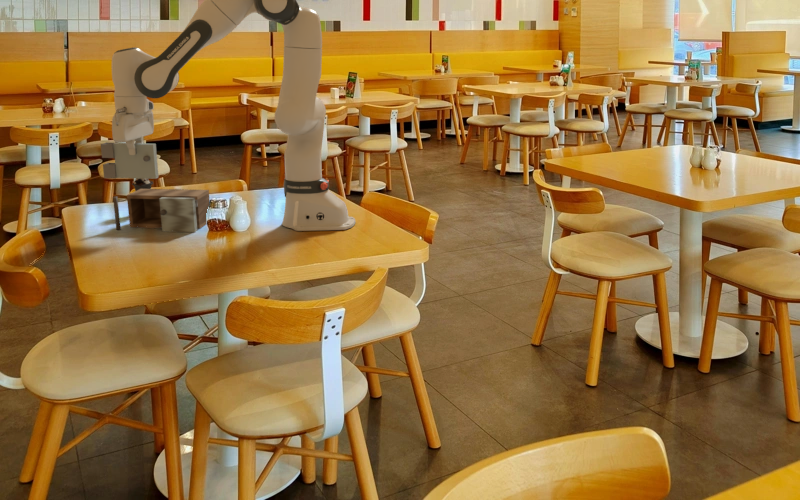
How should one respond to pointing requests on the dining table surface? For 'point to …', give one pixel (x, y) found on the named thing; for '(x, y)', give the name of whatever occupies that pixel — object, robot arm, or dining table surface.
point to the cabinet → (166, 209)
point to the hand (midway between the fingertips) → (135, 153)
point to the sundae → (142, 183)
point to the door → (130, 161)
